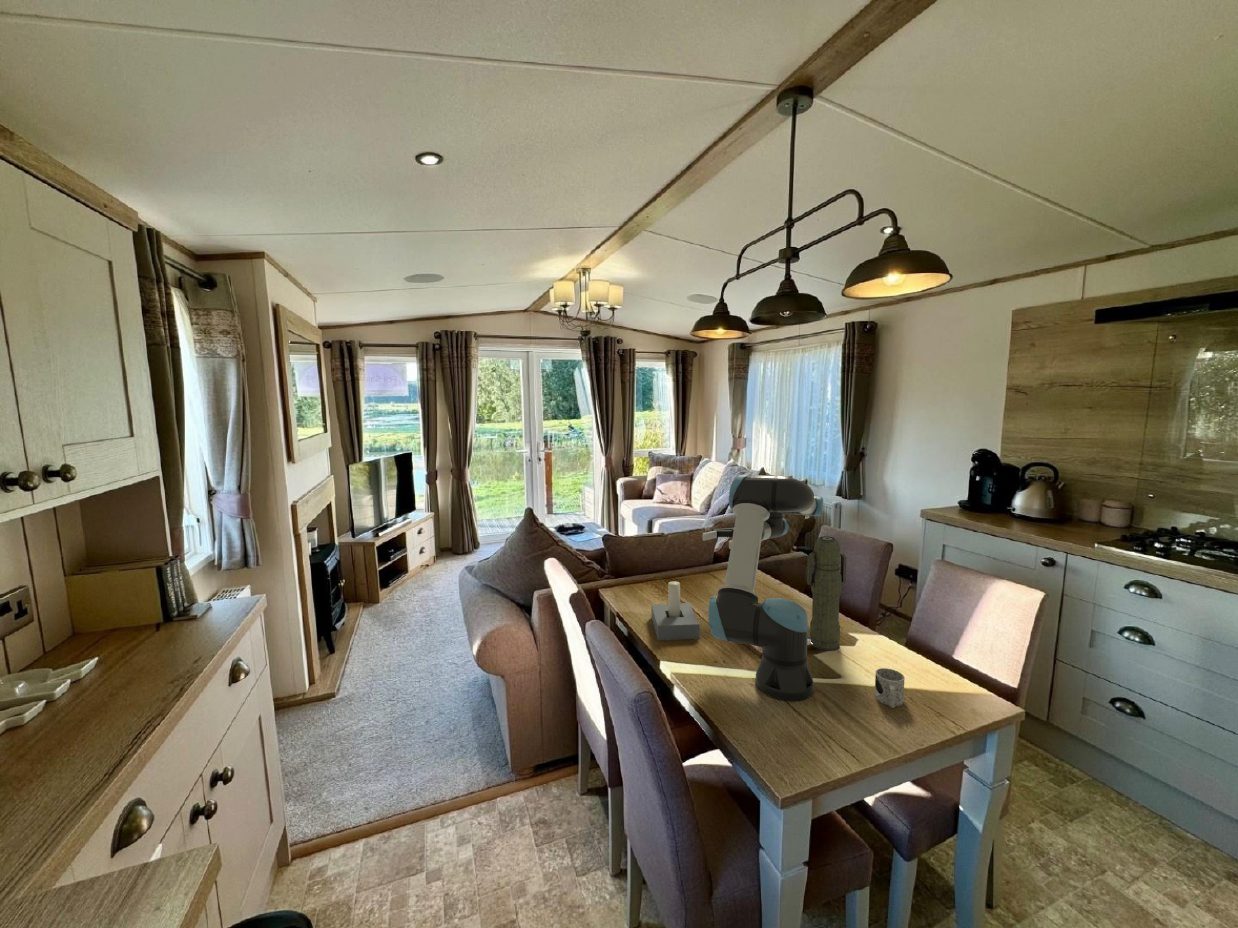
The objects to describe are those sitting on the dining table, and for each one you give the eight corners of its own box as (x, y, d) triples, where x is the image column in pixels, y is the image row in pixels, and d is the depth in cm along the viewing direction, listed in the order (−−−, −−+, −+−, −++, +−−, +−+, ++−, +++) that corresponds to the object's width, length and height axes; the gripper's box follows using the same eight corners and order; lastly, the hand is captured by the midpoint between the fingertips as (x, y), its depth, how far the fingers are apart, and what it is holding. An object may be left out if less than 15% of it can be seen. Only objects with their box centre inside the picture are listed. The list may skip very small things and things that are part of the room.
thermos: (850, 648, 157) (853, 540, 153) (815, 652, 155) (818, 543, 151) (833, 636, 166) (836, 533, 162) (800, 639, 164) (802, 535, 160)
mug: (873, 689, 135) (874, 666, 134) (901, 694, 132) (902, 670, 132) (877, 710, 126) (878, 685, 125) (907, 716, 123) (908, 690, 122)
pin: (681, 626, 173) (680, 585, 172) (669, 627, 173) (669, 585, 171) (679, 622, 177) (678, 581, 176) (667, 622, 177) (667, 581, 175)
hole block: (699, 638, 167) (699, 624, 166) (658, 640, 166) (657, 625, 165) (689, 615, 184) (689, 602, 184) (651, 617, 184) (651, 604, 183)
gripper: (782, 548, 184) (741, 559, 172) (732, 534, 204) (693, 543, 193) (782, 528, 183) (741, 537, 171) (732, 516, 204) (693, 524, 192)
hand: (715, 540), depth 182 cm, fingers open, 13 cm apart
